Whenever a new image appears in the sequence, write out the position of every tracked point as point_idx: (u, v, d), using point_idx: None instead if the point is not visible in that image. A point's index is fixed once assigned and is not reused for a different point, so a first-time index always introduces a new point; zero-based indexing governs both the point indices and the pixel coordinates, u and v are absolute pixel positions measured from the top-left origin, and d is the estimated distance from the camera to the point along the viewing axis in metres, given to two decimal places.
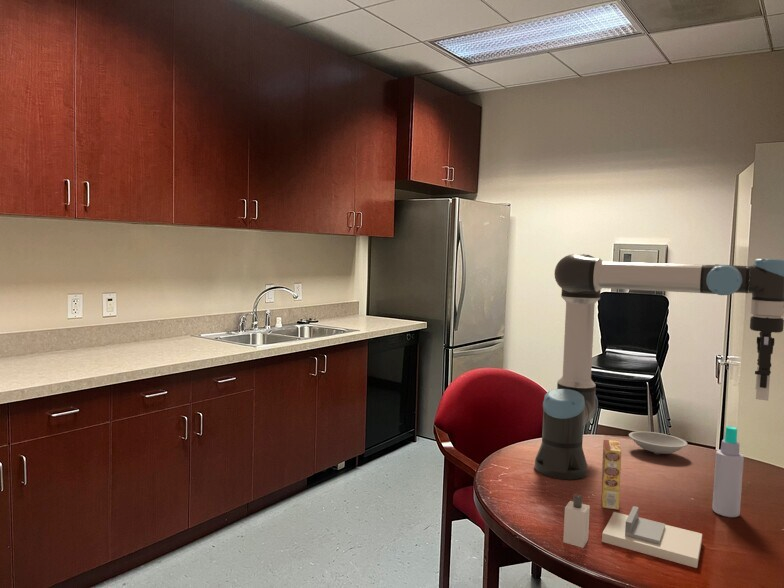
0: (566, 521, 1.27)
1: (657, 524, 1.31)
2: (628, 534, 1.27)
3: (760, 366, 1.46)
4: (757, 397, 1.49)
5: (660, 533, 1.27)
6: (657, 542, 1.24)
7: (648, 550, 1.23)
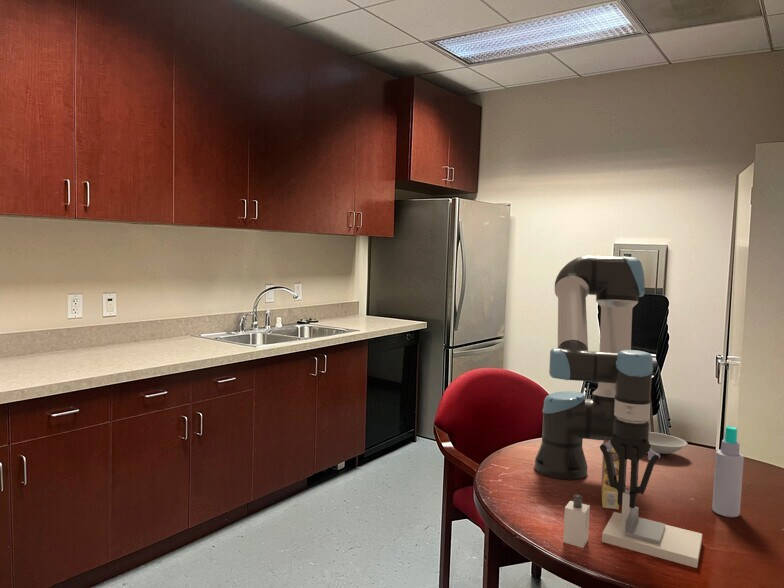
0: (566, 521, 1.27)
1: (657, 524, 1.31)
2: (628, 534, 1.27)
3: None
4: None
5: (660, 533, 1.27)
6: (657, 542, 1.24)
7: (648, 550, 1.23)
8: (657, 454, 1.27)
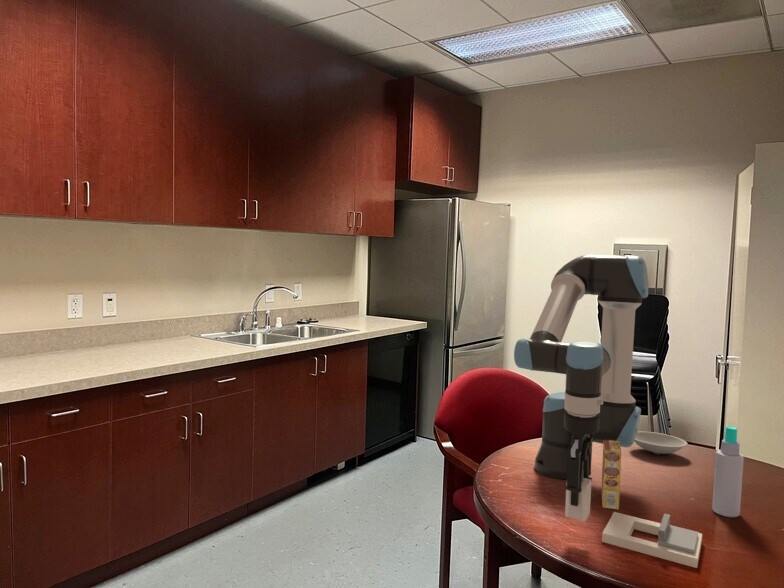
0: (568, 495, 1.27)
1: (689, 533, 1.27)
2: (661, 542, 1.23)
3: (568, 483, 1.23)
4: (569, 515, 1.27)
5: (694, 542, 1.23)
6: (692, 551, 1.20)
7: (648, 550, 1.23)
8: None
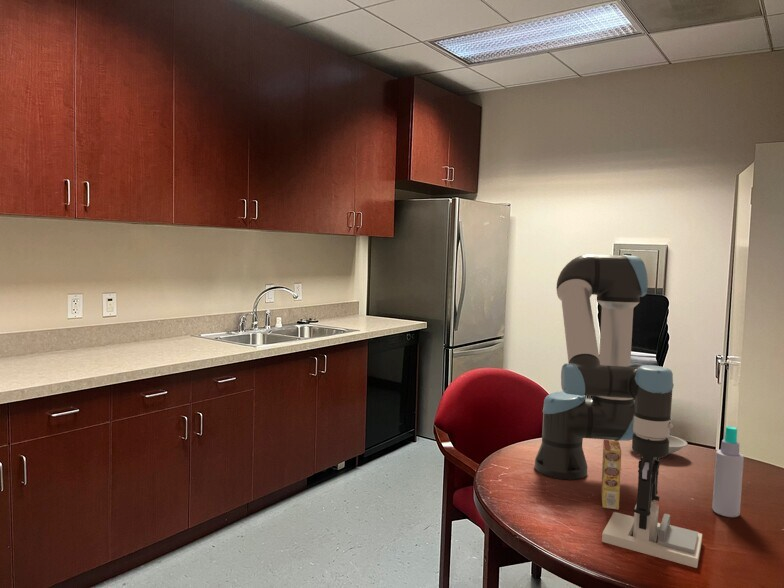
0: (636, 520, 1.28)
1: (689, 533, 1.27)
2: (661, 542, 1.23)
3: (637, 506, 1.24)
4: None
5: (694, 542, 1.23)
6: (692, 551, 1.20)
7: (648, 550, 1.23)
8: None
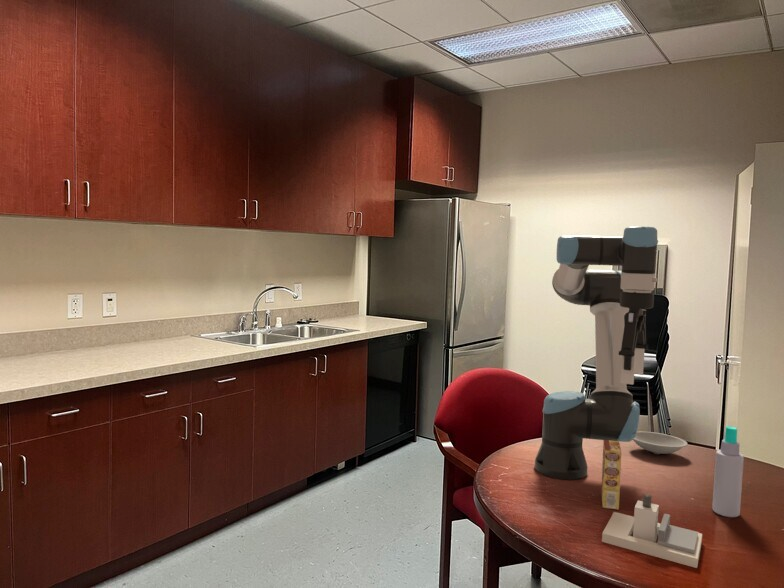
0: (636, 520, 1.28)
1: (689, 533, 1.27)
2: (661, 542, 1.23)
3: (622, 346, 1.30)
4: (622, 381, 1.33)
5: (694, 542, 1.23)
6: (692, 551, 1.20)
7: (648, 550, 1.23)
8: None
